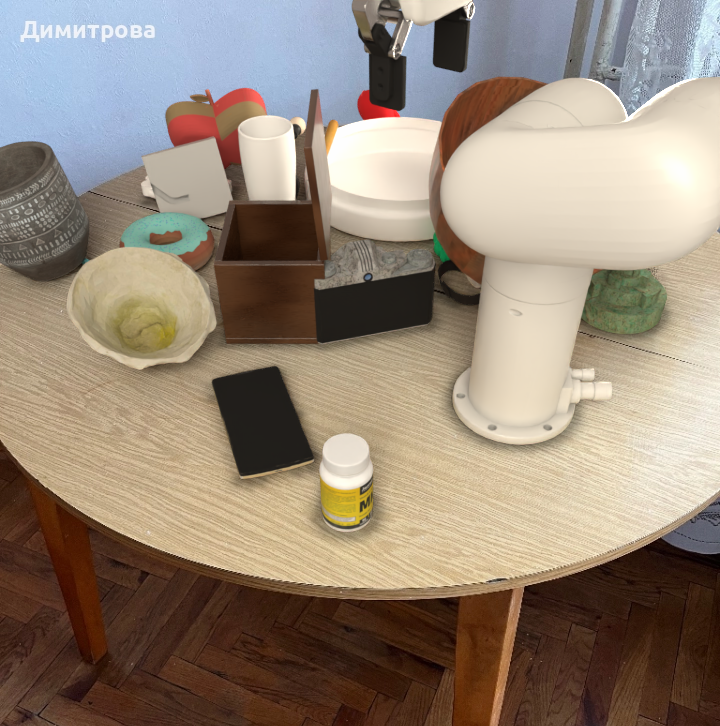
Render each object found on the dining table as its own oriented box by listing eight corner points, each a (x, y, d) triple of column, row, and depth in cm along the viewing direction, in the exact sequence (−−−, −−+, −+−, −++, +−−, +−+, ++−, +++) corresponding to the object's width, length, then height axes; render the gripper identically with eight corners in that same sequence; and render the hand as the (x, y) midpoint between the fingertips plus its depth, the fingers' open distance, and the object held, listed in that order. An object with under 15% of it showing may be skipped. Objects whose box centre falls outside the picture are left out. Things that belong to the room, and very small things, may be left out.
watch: (495, 302, 93) (499, 275, 91) (463, 314, 92) (466, 287, 89) (458, 271, 98) (460, 245, 95) (427, 282, 96) (428, 256, 94)
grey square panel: (235, 225, 108) (232, 220, 112) (233, 138, 103) (230, 135, 106) (147, 225, 105) (146, 220, 109) (139, 136, 100) (139, 132, 103)
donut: (192, 225, 106) (187, 197, 103) (232, 265, 99) (228, 237, 96) (109, 252, 102) (101, 223, 99) (145, 295, 95) (137, 267, 92)
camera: (417, 292, 95) (421, 217, 87) (436, 324, 90) (442, 247, 83) (299, 313, 92) (293, 237, 85) (313, 347, 88) (308, 270, 80)
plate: (267, 205, 110) (263, 167, 106) (374, 135, 124) (374, 100, 120) (431, 264, 99) (433, 225, 95) (526, 180, 114) (532, 143, 110)
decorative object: (189, 183, 115) (160, 127, 100) (184, 160, 115) (155, 100, 101) (279, 164, 115) (263, 105, 100) (274, 140, 115) (258, 78, 100)
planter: (-7, 274, 100) (-67, 184, 90) (66, 222, 105) (17, 132, 95) (44, 302, 94) (-15, 209, 84) (120, 246, 98) (73, 152, 89)
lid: (303, 147, 72) (311, 147, 72) (310, 89, 81) (318, 88, 81) (320, 261, 81) (327, 260, 80) (325, 196, 90) (332, 196, 90)
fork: (341, 116, 113) (323, 180, 99) (342, 129, 114) (324, 194, 100) (324, 115, 113) (303, 179, 99) (325, 128, 114) (304, 193, 100)
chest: (226, 344, 89) (213, 264, 81) (239, 277, 98) (229, 200, 90) (328, 344, 88) (324, 264, 81) (332, 277, 98) (328, 200, 90)
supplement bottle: (367, 537, 69) (367, 473, 63) (316, 529, 70) (311, 465, 64) (377, 498, 73) (378, 433, 66) (328, 490, 73) (324, 426, 67)
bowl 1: (113, 413, 81) (87, 335, 73) (70, 343, 89) (43, 266, 81) (242, 364, 86) (231, 287, 79) (191, 302, 94) (176, 226, 87)
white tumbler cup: (294, 223, 107) (285, 111, 95) (307, 248, 102) (300, 134, 91) (246, 231, 105) (231, 119, 94) (257, 257, 101) (243, 142, 90)
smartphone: (239, 476, 73) (210, 377, 83) (241, 484, 74) (211, 385, 83) (315, 458, 74) (277, 363, 84) (316, 466, 75) (278, 371, 85)
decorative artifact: (569, 284, 96) (581, 333, 89) (580, 232, 91) (594, 280, 84) (651, 285, 96) (669, 335, 89) (667, 234, 91) (687, 282, 84)
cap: (359, 111, 129) (350, 131, 126) (363, 76, 124) (353, 96, 121) (405, 123, 129) (397, 143, 126) (411, 88, 124) (403, 108, 121)
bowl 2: (358, 223, 89) (393, 156, 78) (471, 112, 99) (514, 39, 89) (523, 366, 90) (579, 319, 79) (617, 241, 100) (677, 185, 90)
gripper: (405, -151, 47) (400, 134, 59) (535, -189, 56) (507, 64, 69) (307, -161, 50) (322, 112, 63) (447, -195, 59) (435, 48, 72)
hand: (419, 86), depth 66 cm, fingers open, 9 cm apart
